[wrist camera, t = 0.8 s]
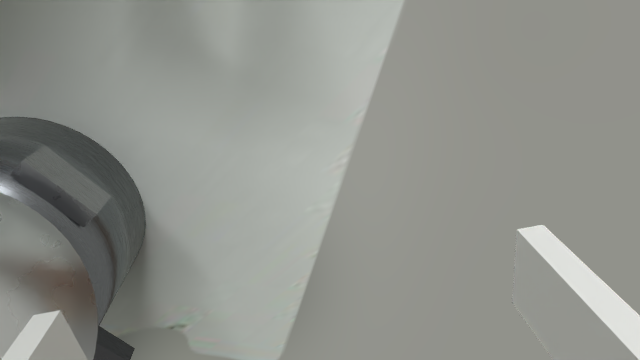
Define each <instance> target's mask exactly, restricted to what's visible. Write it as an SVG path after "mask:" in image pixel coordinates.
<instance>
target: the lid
mask: <svg viewBox="0 0 640 360" xmlns="http://www.w3.org/2000/svg"><path fill="white" fill-rule="evenodd" d="M59 310H60V311H61V312H62V314H63V316H64V318H65V320H66V321H67V323H68V325H69V327H70V329H71V330H72V332H73V334H74V336H75V338H76V340H77V341H78V343H79V345H80V347H81V349H82V350H83V352H84V354H85V356H86V358H87V360H93V358H94V354H95V349H96V341H97V334H98V315H97V306H96V300H95V294H94V290H93V287H92V284H91V281H90V278H89V274H88V272H87V270H86V268H85V266H84V264H83V262H82V260H81V258H80V256H79V255H78V254H77V252H76V251H75V249H74V248H73V247H72V245H71V244H70V242H69V241H68V240H67V239H66V238H65V237H64V235H63V234H62V233H61V232H60V231H59V230H58V229H57V228H56V227H55V226H54V225H53V224H52V223H50V222H49V221H48V220H47V219H45V218H44V217H43V216H42V215H40V214H39V213H38V212H37V211H35V210H33V209H32V208H30V207H28V206H27V205H25V204H23V203H22V202H20V201H18V200H17V199H14V198H12V197H10V196H8V195H6V194H3V193H1V192H0V360H1V359H2V358H3V356H4V355H5V353H6V352H7V351H8V349H9V348H10V347H11V345H12V344H13V342H14V341H15V340H16V338H17V337H18V336H19V334H20V333H21V331H22V330H23V329H24V327H25V326H26V325H27V323H28V322H29V320H30V319H31V318H32V316H33V315H37V314H42V313H48V312H54V311H59Z"/></svg>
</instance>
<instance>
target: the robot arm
mask: <svg viewBox="0 0 640 360" xmlns="http://www.w3.org/2000/svg"><path fill="white" fill-rule="evenodd" d="M512 303H513V305H514V306H515V308H516V309H517V310H518V312H519V313H520V315H521V316H522V317H523V318H524V320H525V322H526V323H527V324H528V326H529V327H530V329H531V330H532V331H533V333H534V334H535V336H536V337H537V338H538V340H539V341H540V342H541V344H542V345H543V347H544V348H545V349H546V351H547V352H548V354H549V355H550V357H551V358H552V359H553V360H640V316H639V315H638V314H637V313H636V312H635V311H634V310H633V309H632V308H631V307H630V306H629V305H628V304H626V303H625V302H624V301H623V300H622V299H621V298H620V297H619V296H618V295H617V294H616V293H615V292H614V291H613V290H612V289H611V288H609V287H608V286H607V285H606V284H605V283H604V282H603V281H602V280H601V279H600V278H599V277H598V276H597V275H596V274H595V273H593V272H592V271H591V270H590V269H589V268H588V267H587V266H586V265H585V264H584V263H583V262H582V261H581V260H580V259H579V258H578V257H577V256H576V255H574V253H572V252H571V251H570V250H569V249H568V248H567V247H566V246H565V245H564V244H563V243H562V242H561V241H560V240H559V239H558V238H557V237H555V236H554V235H553V234H552V233H551V232H550V231H549V230H548V229H547V228H546V227H545V226H544V225H539V226H533V227H528V228H522V229H517V234H516V250H515V266H514V283H513V299H512ZM1 360H87V358H86V356H85V354H84V352H83V350H82V349H81V347H80V345H79V343H78V341H77V340H76V338H75V336H74V334H73V332H72V330H71V329H70V327H69V325H68V323H67V321H66V320H65V318H64V316H63V314H62V312H61V311H60V310H59V311H54V312H48V313H42V314H37V315H33V316H32V318H31V319H30V320H29V322H28V323H27V325H26V326H25V327H24V329H23V330H22V331H21V333H20V334H19V336H18V337H17V338H16V340H15V341H14V342H13V344H12V345H11V347H10V348H9V349H8V351H7V352H6V353H5V355H4V356H3V358H2V359H1Z"/></svg>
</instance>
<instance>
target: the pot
mask: <svg viewBox="0 0 640 360" xmlns="http://www.w3.org/2000/svg"><path fill="white" fill-rule="evenodd" d="M0 192H1V193H3V194H6V195H8V196H10V197H12V198H14V199H17V200H18V201H20V202H22V203H23V204H25V205H27V206H28V207H30V208H32V209H33V210H35V211H37V212H38V213H39V214H40V215H42V216H43V217H44V218H45V219H47V220H48V221H49V222H50V223H52V224H53V225H54V226H55V227H56V228H57V229H58V230H59V231H60V232H61V233H62V234H63V235H64V237H65V238H66V239H67V240H68V241H69V242H70V244H71V245H72V247H73V248H74V249H75V251H76V252H77V254H78V255H79V256H80V258H81V260H82V262H83V264H84V266H85V268H86V270H87V272H88V274H89V278H90V281H91V284H92V287H93V290H94V294H95V300H96V306H97V315H98V334H97V341H96V349H95V354H94V358H93V360H130V359H131V356H132V354H133V351H134V348H133V347H132V346H130V345H128V344H127V343H125V342H124V341H122V340H120V339H119V338H117V337H116V336H114V335H112V334H111V333H109V332H108V331H106V330H104V329H103V328H101V327H100V326H99V325H100V323H101V321H102V319H103V317H104V315H105V314H106V312H107V310H108V308H109V306H110V304H111V302H112V300H113V299H114V297H115V295H116V293H117V291H118V289H119V287H120V286H121V284H122V282H123V280H124V278H125V276H126V274H127V273H128V271H129V269H130V267H131V265H132V263H133V261H134V260H135V258H136V256H137V254H138V252H139V250H140V247H141V245H142V242H143V238H144V234H145V212H144V207H143V202H142V200H141V197H140V194H139V191H138V189H137V187H136V185H135V184H134V182H133V180H132V178H131V177H130V175H129V174H128V173H127V171H126V170H125V168H124V167H123V166H122V165H121V164H120V163H119V162H118V161H117V159H116V158H115V157H113V156H112V155H111V154H110V153H109V152H108V151H107V150H106V149H104V148H103V147H102V146H100V145H99V144H98V143H96V142H95V141H93V140H92V139H90V138H88V137H87V136H85V135H83V134H81V133H80V132H77V131H75V130H73V129H71V128H68V127H66V126H63V125H60V124H57V123H54V122H51V121H46V120H41V119H36V118H27V117H3V118H0Z"/></svg>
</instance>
